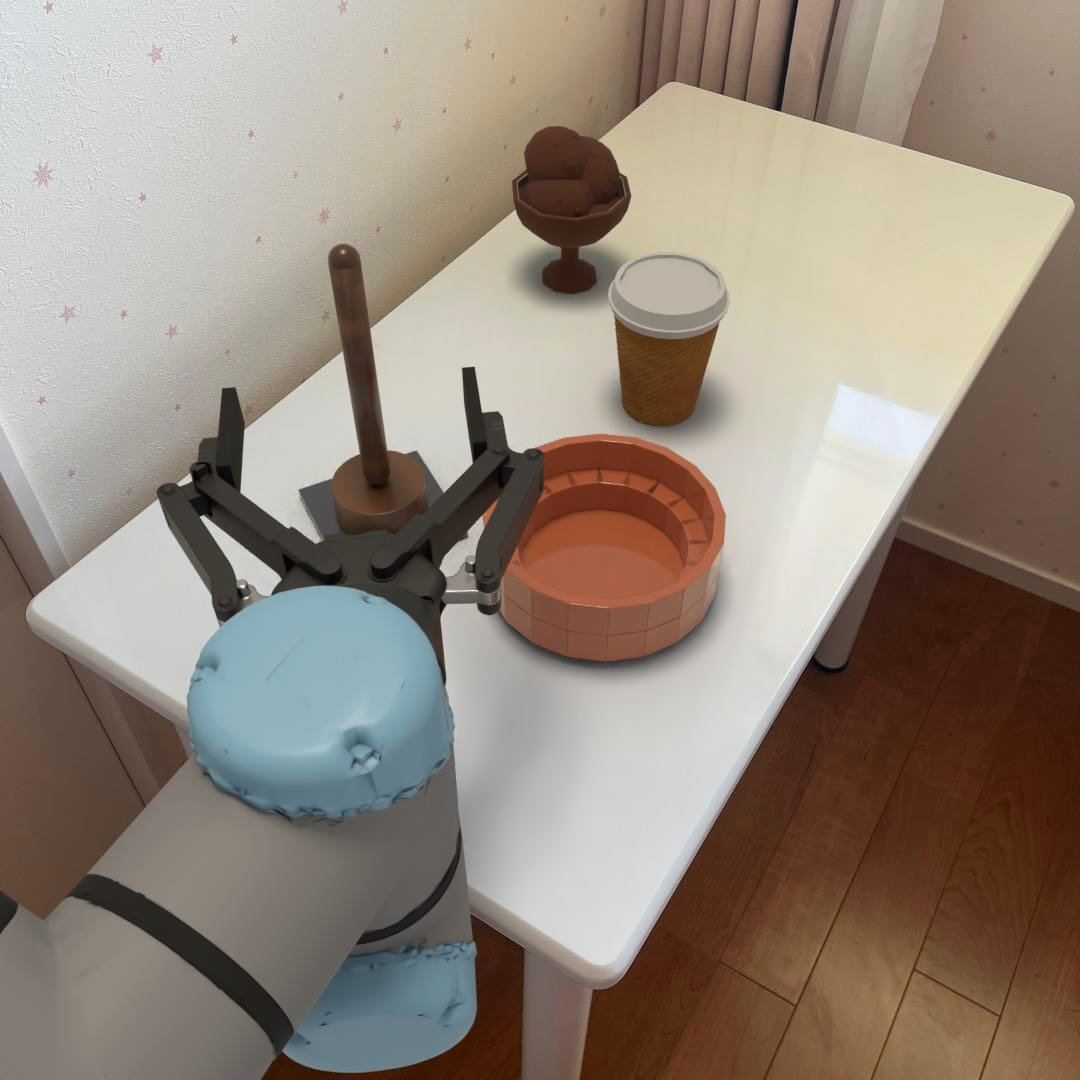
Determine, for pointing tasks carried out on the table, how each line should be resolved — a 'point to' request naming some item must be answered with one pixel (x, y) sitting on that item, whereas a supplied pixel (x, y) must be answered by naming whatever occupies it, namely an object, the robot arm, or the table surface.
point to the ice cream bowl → (569, 200)
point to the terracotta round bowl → (614, 550)
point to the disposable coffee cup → (665, 332)
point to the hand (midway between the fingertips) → (352, 394)
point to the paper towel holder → (368, 421)
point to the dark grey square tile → (323, 507)
